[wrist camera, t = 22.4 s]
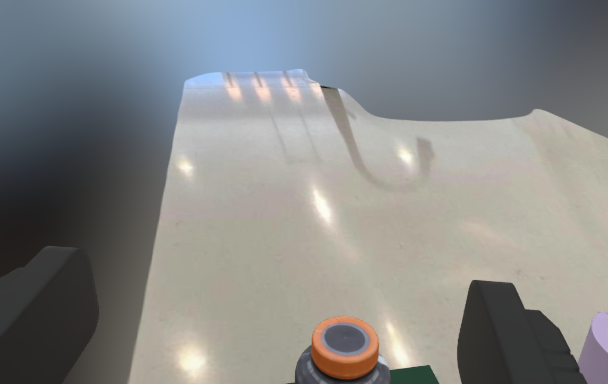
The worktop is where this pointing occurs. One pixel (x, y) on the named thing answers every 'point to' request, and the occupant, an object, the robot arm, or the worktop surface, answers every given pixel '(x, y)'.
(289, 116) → the worktop surface
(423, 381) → the mat
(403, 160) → the worktop surface
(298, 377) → the pill bottle
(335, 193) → the worktop surface
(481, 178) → the worktop surface
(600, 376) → the clip
